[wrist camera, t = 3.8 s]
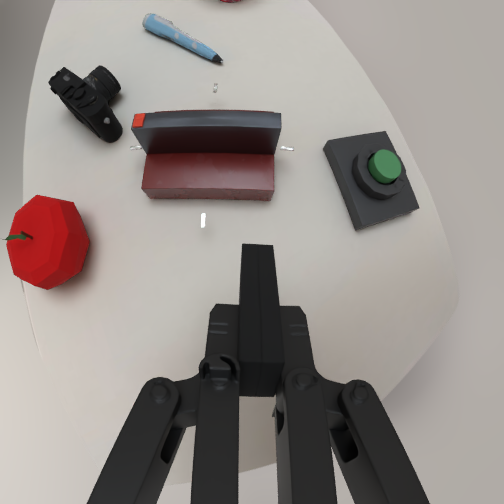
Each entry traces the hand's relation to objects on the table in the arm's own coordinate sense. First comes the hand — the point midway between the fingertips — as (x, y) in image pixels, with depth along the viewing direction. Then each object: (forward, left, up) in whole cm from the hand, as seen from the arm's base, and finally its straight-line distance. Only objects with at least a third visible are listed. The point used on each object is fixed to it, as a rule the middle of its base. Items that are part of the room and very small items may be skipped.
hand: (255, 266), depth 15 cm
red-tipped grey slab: (+11, -10, -13) cm, 20 cm away
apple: (+21, +9, -17) cm, 29 cm away
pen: (+29, -26, -17) cm, 42 cm away
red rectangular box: (+11, -10, -17) cm, 22 cm away
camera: (+30, -9, -17) cm, 35 cm away
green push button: (-6, -19, -13) cm, 24 cm away
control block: (-6, -19, -17) cm, 26 cm away
